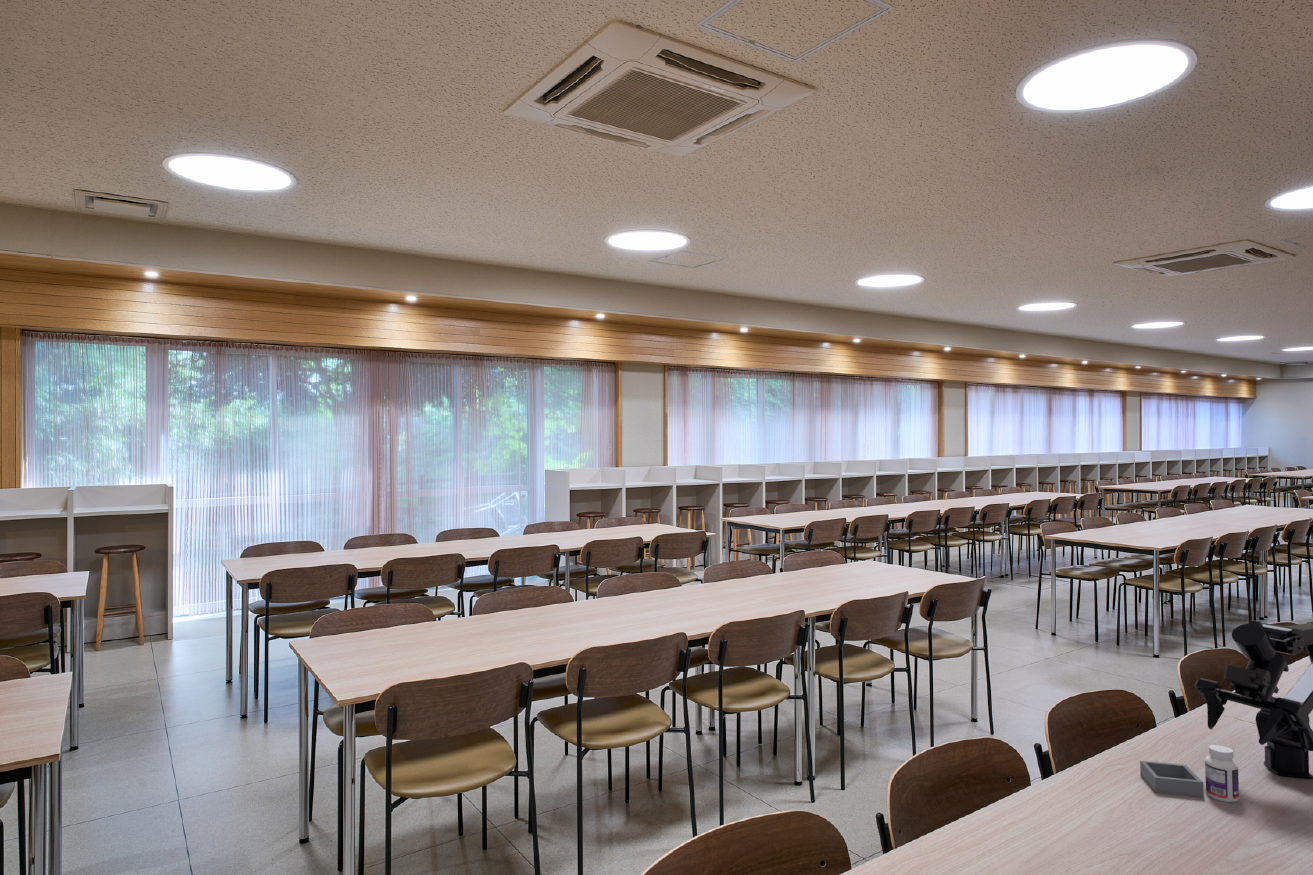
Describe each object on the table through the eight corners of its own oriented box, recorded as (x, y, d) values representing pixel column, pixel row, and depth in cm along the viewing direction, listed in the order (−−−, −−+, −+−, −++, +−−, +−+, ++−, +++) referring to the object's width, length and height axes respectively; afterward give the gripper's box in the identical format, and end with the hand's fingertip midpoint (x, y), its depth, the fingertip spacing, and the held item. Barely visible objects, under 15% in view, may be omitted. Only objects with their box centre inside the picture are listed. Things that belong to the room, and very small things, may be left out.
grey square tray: (1186, 778, 158) (1185, 764, 158) (1203, 797, 150) (1203, 782, 150) (1140, 774, 160) (1140, 760, 160) (1155, 792, 152) (1154, 777, 152)
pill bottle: (1227, 790, 152) (1226, 743, 152) (1245, 803, 147) (1244, 754, 147) (1199, 789, 153) (1198, 742, 153) (1216, 802, 147) (1215, 753, 148)
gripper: (1198, 640, 163) (1169, 698, 158) (1301, 662, 146) (1272, 727, 141) (1219, 671, 166) (1191, 729, 161) (1322, 696, 150) (1294, 761, 145)
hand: (1234, 735), depth 152 cm, fingers open, 9 cm apart
